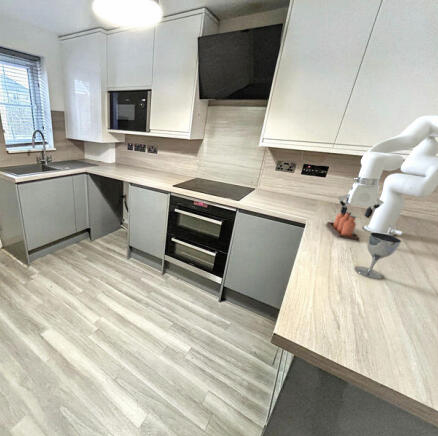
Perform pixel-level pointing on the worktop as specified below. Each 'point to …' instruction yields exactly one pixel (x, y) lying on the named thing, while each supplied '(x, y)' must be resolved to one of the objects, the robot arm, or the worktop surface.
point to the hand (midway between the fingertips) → (354, 215)
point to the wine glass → (379, 251)
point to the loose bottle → (349, 226)
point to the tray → (330, 224)
